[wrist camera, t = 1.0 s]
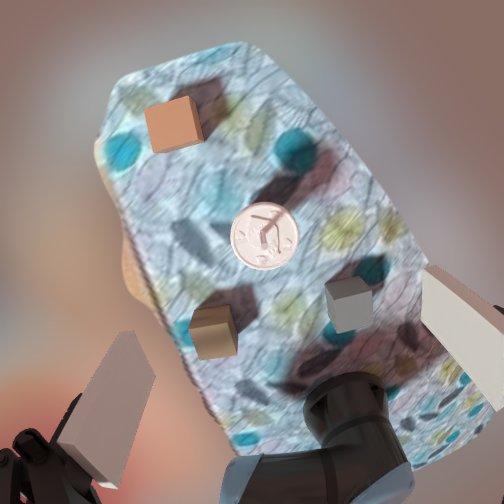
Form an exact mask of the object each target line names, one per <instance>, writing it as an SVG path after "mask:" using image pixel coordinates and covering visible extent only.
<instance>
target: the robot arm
mask: <svg viewBox="0 0 504 504" xmlns="http://www.w3.org/2000/svg"><path fill="white" fill-rule="evenodd" d="M421 321H422V322H423V323H424V324H425V326H426V327H427V328H428V329H429V330H430V331H431V332H432V333H433V335H434V336H435V337H436V338H437V339H438V340H439V341H440V343H441V344H442V345H443V346H444V347H445V348H446V349H447V351H448V352H449V353H450V354H451V355H452V356H453V358H454V359H455V360H456V361H457V362H458V364H459V365H460V366H461V367H462V368H463V370H464V371H465V372H466V373H467V375H468V376H469V377H470V378H471V379H472V381H473V382H474V383H475V384H476V386H477V387H478V388H479V390H480V391H481V392H482V393H483V395H484V396H485V397H486V398H487V400H488V401H489V402H490V404H491V405H492V406H493V408H494V409H495V410H496V411H498V410H500V409H501V408H503V407H504V308H501V307H499V306H497V305H494V306H491V305H490V304H489V303H488V302H486V301H485V300H483V299H482V298H481V297H480V296H478V295H477V294H476V293H475V292H473V291H472V290H471V289H469V288H468V287H467V286H465V285H464V284H462V283H461V282H460V281H458V280H457V279H456V278H454V277H453V276H451V275H450V274H449V273H447V272H446V271H444V270H443V269H441V268H440V267H439V266H437V265H435V266H431V267H427V268H424V269H423V290H422V310H421ZM155 377H156V376H155V373H154V372H153V370H152V368H151V366H150V364H149V362H148V360H147V358H146V356H145V354H144V352H143V349H142V348H141V345H140V343H139V341H138V339H137V337H136V334H135V332H134V330H133V331H126V332H120V333H119V334H118V336H117V338H116V339H115V341H114V342H113V344H112V345H111V347H110V349H109V351H108V352H107V354H106V355H105V357H104V359H103V360H102V362H101V363H100V365H99V367H98V368H97V370H96V372H95V374H94V375H93V377H92V379H91V380H90V382H89V384H88V385H87V387H86V389H85V391H84V392H83V393H80V394H79V395H78V396H77V397H76V398H75V399H74V400H73V401H72V402H71V404H70V406H69V408H68V410H67V412H66V413H65V415H64V416H63V419H62V420H61V422H60V424H59V426H58V427H57V429H56V431H55V433H54V435H53V436H52V438H51V440H50V442H49V443H48V442H47V441H46V440H45V439H44V437H43V436H42V435H41V434H40V433H39V432H38V431H37V430H36V429H33V428H29V429H25V430H23V431H22V432H20V433H19V434H18V435H17V436H16V437H15V439H14V441H13V446H12V447H13V449H14V450H15V451H16V452H17V453H18V454H19V455H20V456H21V457H18V456H17V455H16V454H15V453H14V452H13V451H12V450H10V449H8V448H4V449H1V450H0V504H25V503H23V502H22V501H21V500H20V494H21V495H22V496H24V497H25V498H26V504H102V503H101V501H100V499H99V497H98V495H97V493H96V490H95V489H94V488H93V486H92V485H91V482H92V479H94V480H95V481H96V482H97V483H98V484H99V485H101V486H102V487H108V488H114V489H119V486H120V483H121V479H122V476H123V473H124V470H125V466H126V463H127V460H128V457H129V454H130V451H131V447H132V444H133V441H134V438H135V435H136V432H137V429H138V426H139V423H140V420H141V417H142V414H143V411H144V408H145V406H146V403H147V399H148V397H149V394H150V391H151V388H152V386H153V383H154V380H155ZM303 414H304V419H305V423H306V426H307V427H308V429H309V430H310V432H311V433H312V434H313V436H314V437H315V438H316V440H317V441H318V442H319V444H320V445H321V448H322V449H315V450H308V451H300V452H292V453H281V454H267V455H264V453H261V454H259V455H252V456H240V457H236V458H234V459H233V460H231V461H230V463H229V464H228V466H227V468H226V471H225V474H224V477H223V482H222V487H221V493H220V501H219V504H401V503H402V502H403V501H405V500H406V498H408V497H409V496H410V494H411V493H412V492H413V490H414V487H415V479H414V476H413V472H412V469H411V464H410V462H408V460H407V457H406V455H405V453H404V451H403V449H402V447H401V444H400V442H399V440H398V438H397V436H396V434H395V432H394V430H393V428H392V425H391V423H390V421H389V412H388V395H387V392H386V389H385V387H384V385H383V383H382V382H381V380H380V379H379V378H378V377H376V376H374V375H372V374H369V373H363V372H355V373H348V374H343V375H340V376H337V377H335V378H332V379H330V380H328V381H326V382H325V383H323V384H321V385H320V386H319V387H317V388H316V389H315V390H314V391H313V392H312V393H311V394H310V395H309V397H308V398H307V400H306V401H305V404H304V407H303ZM502 504H504V497H503V500H502Z"/></svg>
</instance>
